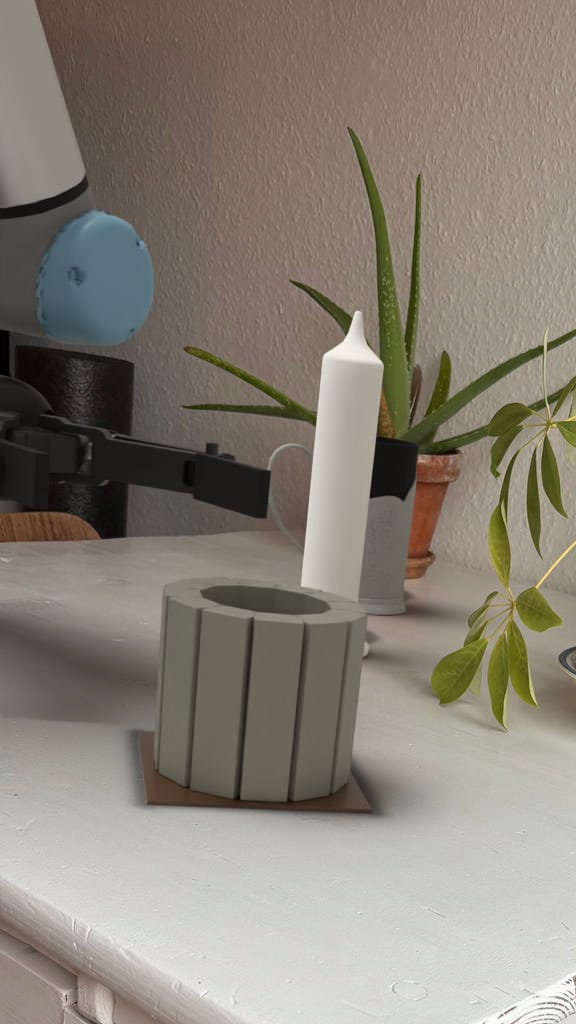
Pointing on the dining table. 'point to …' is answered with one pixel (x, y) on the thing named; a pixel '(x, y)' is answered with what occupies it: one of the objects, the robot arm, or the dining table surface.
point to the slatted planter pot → (257, 688)
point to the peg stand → (173, 794)
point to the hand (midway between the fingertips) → (161, 488)
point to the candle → (342, 466)
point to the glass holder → (380, 523)
